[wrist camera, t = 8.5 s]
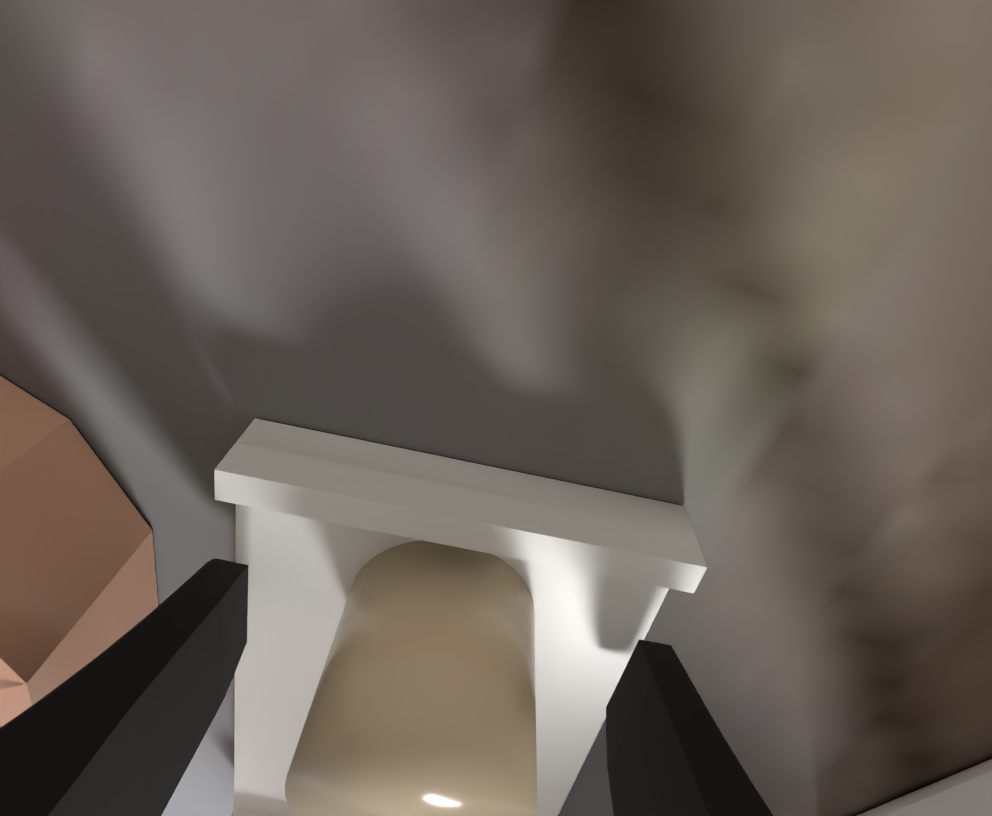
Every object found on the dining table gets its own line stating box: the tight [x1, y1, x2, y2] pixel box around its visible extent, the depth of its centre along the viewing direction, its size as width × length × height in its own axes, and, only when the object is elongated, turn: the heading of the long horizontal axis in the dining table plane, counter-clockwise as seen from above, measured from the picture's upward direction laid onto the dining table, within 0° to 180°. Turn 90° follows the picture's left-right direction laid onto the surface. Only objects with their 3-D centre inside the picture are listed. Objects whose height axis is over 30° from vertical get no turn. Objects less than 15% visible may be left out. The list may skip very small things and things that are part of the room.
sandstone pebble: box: [285, 540, 537, 816], centre depth 10 cm, size 4×4×4 cm
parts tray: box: [214, 418, 707, 816], centre depth 13 cm, size 12×8×2 cm, turn 169°
